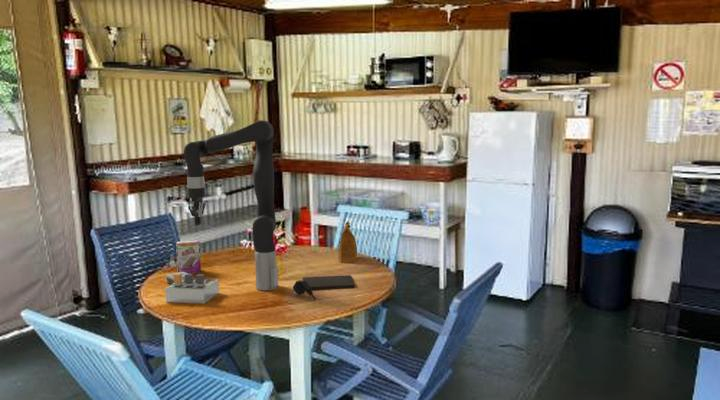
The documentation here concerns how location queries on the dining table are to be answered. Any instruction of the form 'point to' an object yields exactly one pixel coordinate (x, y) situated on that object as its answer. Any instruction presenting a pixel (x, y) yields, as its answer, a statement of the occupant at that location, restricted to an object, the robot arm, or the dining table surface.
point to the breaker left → (200, 280)
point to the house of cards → (171, 262)
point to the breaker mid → (189, 280)
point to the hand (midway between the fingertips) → (198, 224)
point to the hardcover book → (329, 282)
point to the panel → (192, 292)
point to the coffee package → (347, 246)
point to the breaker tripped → (177, 280)
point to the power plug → (302, 288)
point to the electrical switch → (171, 277)
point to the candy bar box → (188, 256)
